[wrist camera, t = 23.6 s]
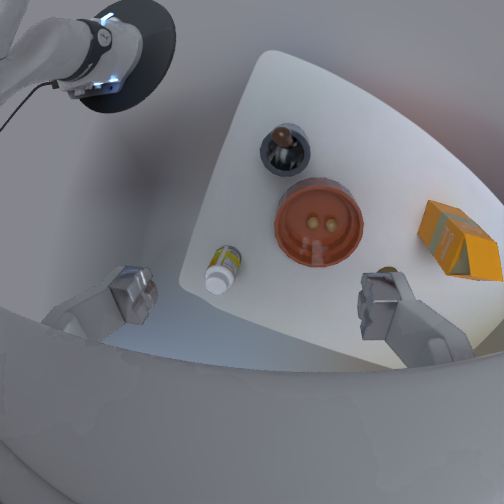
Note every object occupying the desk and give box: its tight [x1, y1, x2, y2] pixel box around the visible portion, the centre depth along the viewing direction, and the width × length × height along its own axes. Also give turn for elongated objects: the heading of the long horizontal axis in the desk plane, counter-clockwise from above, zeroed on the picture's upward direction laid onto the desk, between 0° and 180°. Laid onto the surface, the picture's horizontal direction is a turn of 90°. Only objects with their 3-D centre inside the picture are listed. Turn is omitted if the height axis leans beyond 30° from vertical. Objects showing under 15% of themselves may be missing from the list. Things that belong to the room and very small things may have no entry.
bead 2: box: [325, 219, 338, 232], centre depth 48 cm, size 2×2×2 cm
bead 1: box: [307, 217, 320, 230], centre depth 48 cm, size 2×2×2 cm
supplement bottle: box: [205, 246, 241, 295], centre depth 53 cm, size 6×6×10 cm
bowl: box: [274, 178, 364, 267], centre depth 47 cm, size 15×15×6 cm
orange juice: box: [418, 200, 503, 282], centre depth 36 cm, size 8×9×20 cm
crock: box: [260, 123, 310, 177], centre depth 38 cm, size 6×6×12 cm
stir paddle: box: [272, 127, 297, 150], centre depth 33 cm, size 3×2×22 cm, turn 93°
